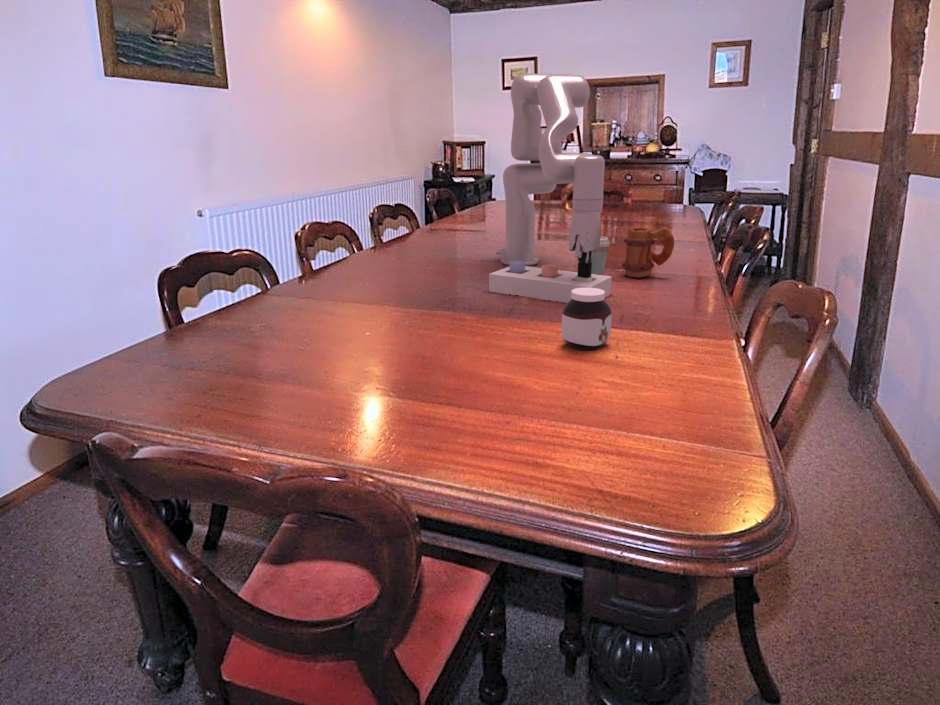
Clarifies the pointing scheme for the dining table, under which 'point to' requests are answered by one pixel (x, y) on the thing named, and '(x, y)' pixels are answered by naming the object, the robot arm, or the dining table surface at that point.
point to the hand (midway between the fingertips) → (584, 276)
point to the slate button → (517, 267)
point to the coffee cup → (600, 257)
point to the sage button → (583, 279)
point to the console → (543, 284)
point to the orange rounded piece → (549, 271)
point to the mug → (646, 250)
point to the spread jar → (586, 319)
